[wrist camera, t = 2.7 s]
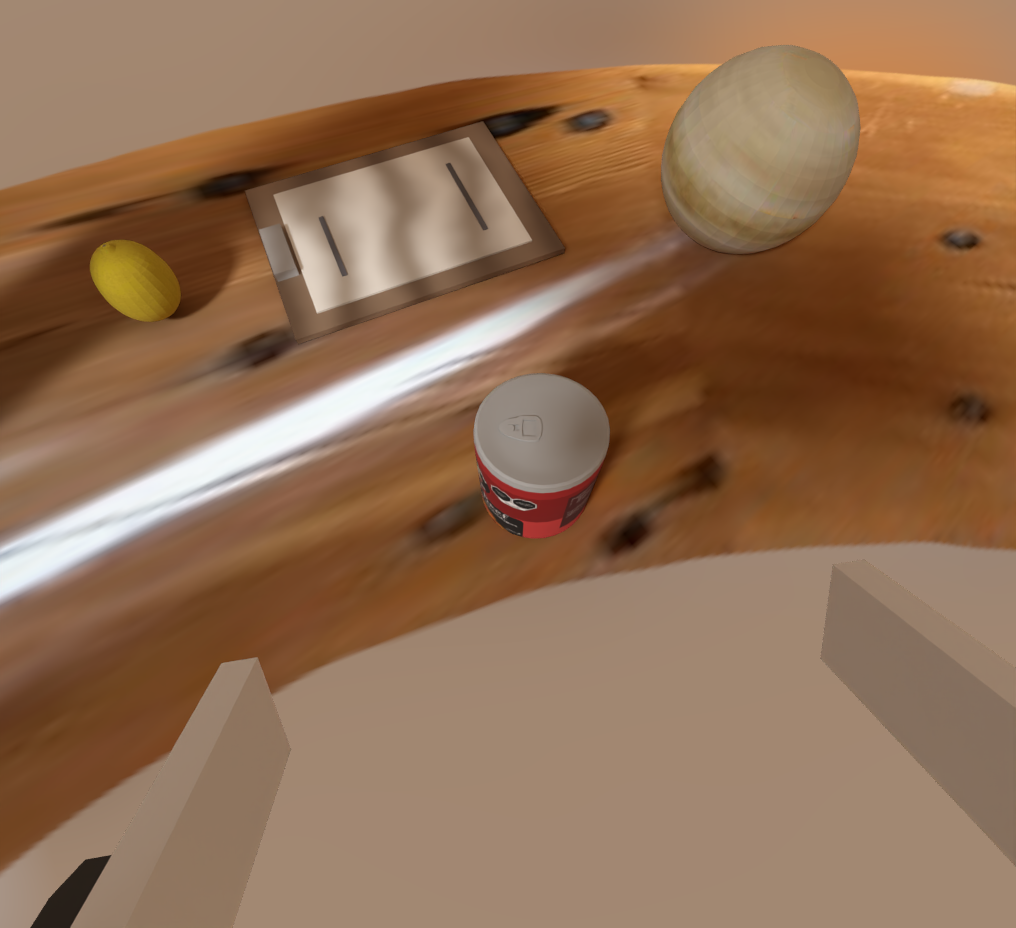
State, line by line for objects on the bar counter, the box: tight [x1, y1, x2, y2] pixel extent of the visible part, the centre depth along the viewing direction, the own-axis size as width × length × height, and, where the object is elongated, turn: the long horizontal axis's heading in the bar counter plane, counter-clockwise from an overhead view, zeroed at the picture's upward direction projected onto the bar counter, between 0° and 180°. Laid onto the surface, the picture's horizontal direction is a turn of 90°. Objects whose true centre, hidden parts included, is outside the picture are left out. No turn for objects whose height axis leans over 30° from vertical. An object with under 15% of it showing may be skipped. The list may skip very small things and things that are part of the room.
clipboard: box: [245, 121, 565, 344], centre depth 51 cm, size 26×20×2 cm
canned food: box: [474, 373, 610, 538], centre depth 35 cm, size 8×8×11 cm
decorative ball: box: [661, 45, 860, 254], centre depth 44 cm, size 15×15×15 cm
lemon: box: [90, 240, 181, 322], centre depth 44 cm, size 6×6×8 cm
